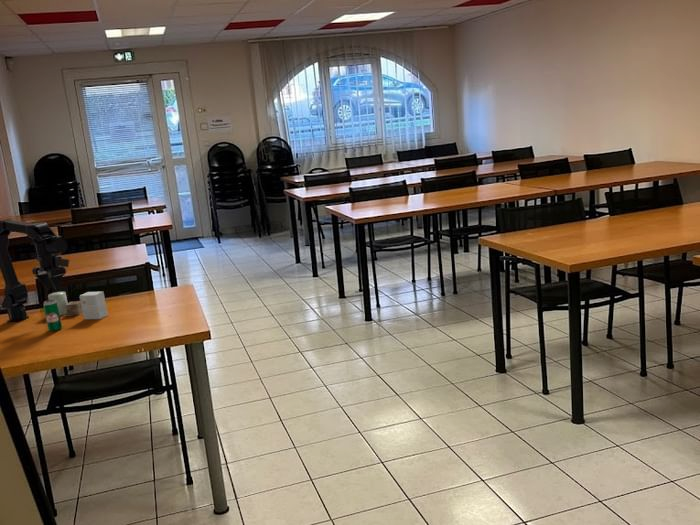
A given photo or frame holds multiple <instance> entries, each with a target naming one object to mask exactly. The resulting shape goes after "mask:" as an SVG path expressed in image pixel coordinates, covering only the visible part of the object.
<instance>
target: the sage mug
mask: <svg viewBox="0 0 700 525" xmlns="http://www.w3.org/2000/svg"><path fill="white" fill-rule="evenodd" d="M66 293H67V292H66V291H59V292H57V291H55V292H52V293H49V294H48V296H47V298H48V300H56V302H57V304H58V309H59V314H60V317H61V316H65V315H67V311H66V306H65V305H66V304H68V303H69V302H68V299H67V294H66Z"/></svg>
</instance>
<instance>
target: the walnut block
mask: <svg viewBox="0 0 700 525" xmlns="http://www.w3.org/2000/svg"><path fill="white" fill-rule="evenodd" d="M65 306H66V311H67V314H66V315H67V316H66V317H71V316H72V317H73V316H74V315H75V316H81V314H83V311H82V306H81V301H80V300H77V301H75V300H74V301H69V302H68V304H66V305H65Z"/></svg>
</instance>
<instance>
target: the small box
mask: <svg viewBox="0 0 700 525" xmlns="http://www.w3.org/2000/svg"><path fill="white" fill-rule="evenodd" d="M79 301H81V306H82V311H83V312H82V315H83V319H84V320H101V319H104V318H105V317H107V316H108V315H109V312H108V307H107V303H106V298H105V293H104V290H103V291H86V292H85V293H83V294H80V295H79Z"/></svg>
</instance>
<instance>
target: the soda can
mask: <svg viewBox="0 0 700 525" xmlns="http://www.w3.org/2000/svg"><path fill="white" fill-rule="evenodd" d="M42 305H43V311H44V315H45V321H46V324H47V329H48V331H50V332H58V331H60V330H62V328H63V324H62V321H61V316H60V314H59V309H58V304H57V302H56V300H49V299H48V300H44V301H43V304H42ZM57 330H58V331H57Z"/></svg>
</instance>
